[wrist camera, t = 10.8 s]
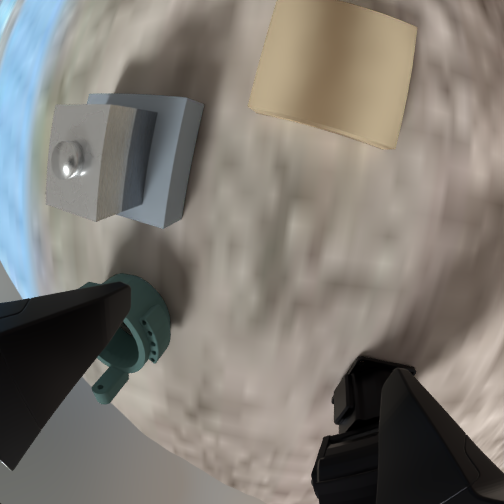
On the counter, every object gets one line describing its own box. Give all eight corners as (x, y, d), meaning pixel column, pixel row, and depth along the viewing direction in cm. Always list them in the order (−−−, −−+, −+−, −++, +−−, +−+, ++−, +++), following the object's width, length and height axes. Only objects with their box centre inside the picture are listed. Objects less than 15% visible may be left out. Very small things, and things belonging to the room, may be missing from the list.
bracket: (143, 355, 28) (101, 408, 20) (90, 292, 27) (36, 333, 19) (194, 325, 25) (151, 390, 17) (131, 249, 24) (65, 291, 16)
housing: (157, 112, 16) (101, 103, 11) (142, 204, 19) (86, 225, 13) (104, 108, 17) (46, 104, 12) (92, 190, 19) (37, 206, 14)
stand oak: (405, 41, 14) (417, 27, 11) (383, 149, 17) (395, 149, 14) (285, 9, 15) (280, -11, 12) (257, 113, 18) (247, 106, 15)
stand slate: (204, 104, 18) (187, 97, 16) (181, 218, 22) (163, 228, 19) (111, 97, 19) (89, 93, 17) (97, 195, 23) (75, 201, 20)
